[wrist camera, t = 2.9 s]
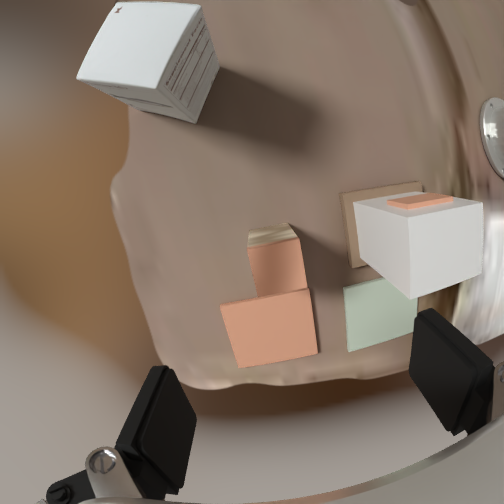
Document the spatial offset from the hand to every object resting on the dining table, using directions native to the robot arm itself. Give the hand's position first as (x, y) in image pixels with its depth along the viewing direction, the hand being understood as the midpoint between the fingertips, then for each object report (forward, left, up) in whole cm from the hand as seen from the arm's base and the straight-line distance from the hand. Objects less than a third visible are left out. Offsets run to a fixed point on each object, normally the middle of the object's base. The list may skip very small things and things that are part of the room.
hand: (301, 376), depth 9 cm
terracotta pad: (+2, +10, -20) cm, 23 cm away
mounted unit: (-13, 0, -20) cm, 24 cm away
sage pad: (-12, +11, -20) cm, 26 cm away
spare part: (0, 0, -20) cm, 20 cm away
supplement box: (+6, -19, -21) cm, 29 cm away
